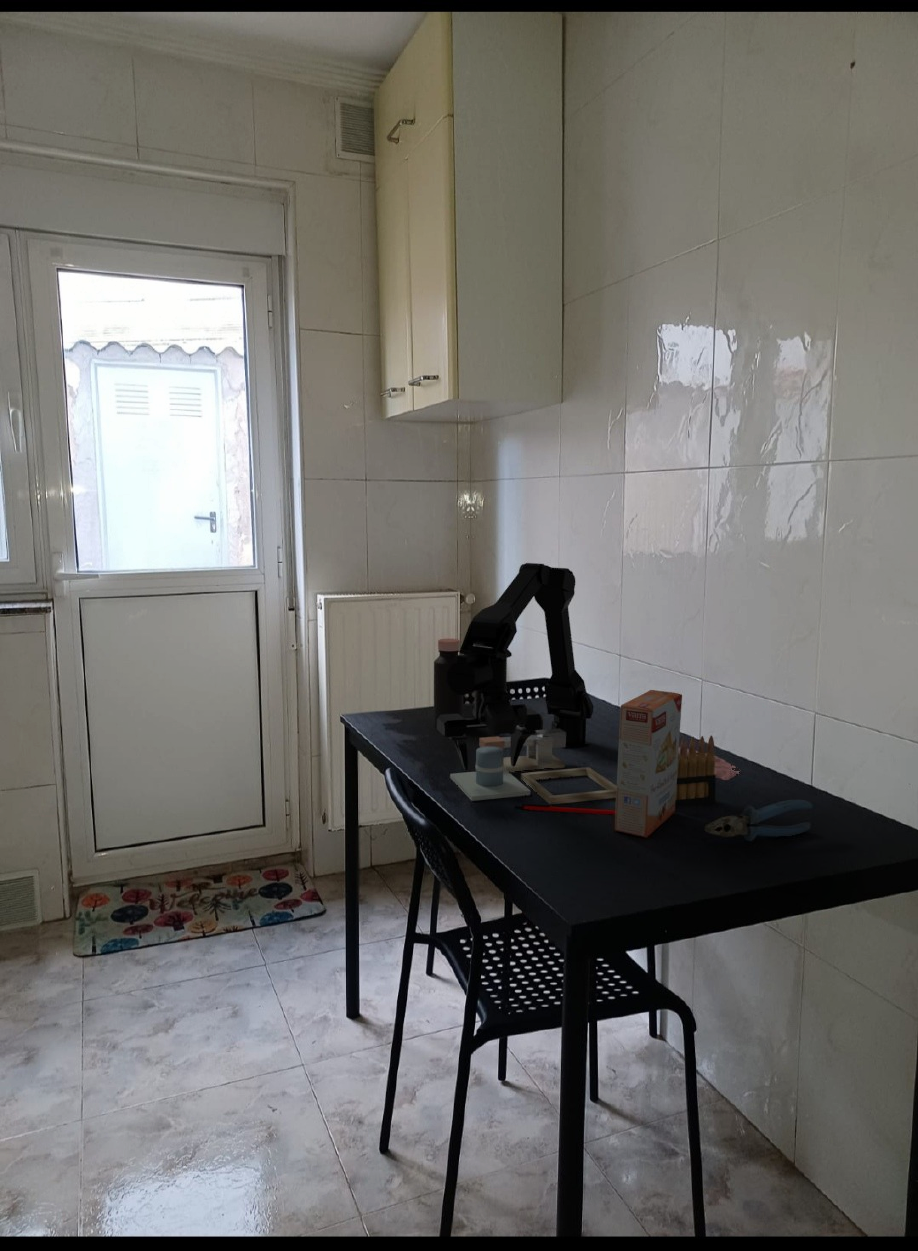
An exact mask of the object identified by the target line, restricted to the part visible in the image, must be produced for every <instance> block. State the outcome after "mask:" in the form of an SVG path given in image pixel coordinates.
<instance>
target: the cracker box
mask: <svg viewBox="0 0 918 1251" xmlns="http://www.w3.org/2000/svg"><path fill="white" fill-rule="evenodd" d="M682 704H683V694H682V693H679V692H672V691H664V690H657V689H656V690H655V689H650V690H648V691H646V692H644V693H641V695H638V696H636V697H634V698H633V699H630V700H628V701H626V702H624V703H623V704H621V705H620V710H619V711H620V712H619V732H618V750H617V751H618V752H617V773H616V786H617V790H616V798H615V815H614V831H616V832H619V833H623V834H628V835H633V836H636V837H640V836H641V838H646V839H647V838H648V837H649V836H651V834H652V833H654V832H655V830H657V829H658V828H659V827H660V826H661V825H662V824H663V823H665V822H666V821H667V820H668V819H669V818H670V817H671V816H672V815H673V814H674V813H676V807H675V801H676V785H677V769H678V760H679V759H678V753H679V747H680V736H681V734H680V733H681V721H682V720H681V718H682Z"/></svg>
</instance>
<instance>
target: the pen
mask: <svg viewBox="0 0 918 1251" xmlns="http://www.w3.org/2000/svg"><path fill="white" fill-rule="evenodd" d="M518 808H522V810H524V809H529V811H541V810H543V812H544V811H545V812H561V813H562V812H563V813H575V814H576V813H578V814H594V815H595V814H597V815H609V814H612V815H613V816H615V810H614V809H612V810H611V809H593V808H579V807H576V808H575V807H561V806H550V804H534V803H533V804H532V803H522V806H519V805H515V806H514V809H518ZM612 815H611V816H612Z"/></svg>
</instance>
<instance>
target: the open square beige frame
mask: <svg viewBox="0 0 918 1251" xmlns="http://www.w3.org/2000/svg"><path fill="white" fill-rule="evenodd" d="M571 776H572V777H580V776H587V777H588V778H590V779H591V780H592V781H594V782H595V783H596V784H598V785H599V786H600V787H602V788H604V790H595V791H594V790H593V791H585V792H575V793H564V794H556V795H554V794H553V793H552V792H550V791H549V790H547V789H546V788H545V787H543V786H542V784H540V783H539V782H537V780H538V781H539V779H540V780H549V778H551V779H560V778H559V777H561V778H569V777H571ZM520 780H521V781H522V780H523V781H524V782H525V783H526V784H525V785H527V786H528V785H529V786H530V787H531V788H532V789H533V790H532V789H531V788H530V787H529V786H528V787H529V788H530V789H531V790H532V791H533V792H535V793H536V792H537V793H536V794H537V795H538V796H539V797H541V798H542V799H543V800H544V801H545V802H546V803H548V805H558V804H571V803H577V802H587V801H597V800H607V799H608V800H609V799H616V790H617V784H614V782H611V781H610V780H609V779H607V778H606V777H604V776H603V775H602V774H599V773H598V772H597V771H595V770H594V769H593V768H591V767H589V766H588V767H587V766H585V767H577V768H576V767H575V768H574V767H573V768H565V769H563V768H562V769H554V770H552V769H551V770H540V771H533V772H532V771H530V772H523V773H521V772H520ZM523 781H522V782H523ZM524 782H523V783H524Z"/></svg>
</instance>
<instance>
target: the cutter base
mask: <svg viewBox="0 0 918 1251" xmlns="http://www.w3.org/2000/svg"><path fill="white" fill-rule="evenodd" d="M535 731H536V733H535V734H534V735H537V730H535ZM552 746H553V738H552V737H542V738H536V745H531V746H526V755H519V757H518V760H517V762H516V765H515V766H512V765H511V758H510V756H507V757H504V760H503V763H504V769H506V770H507V771H508V772H510V773H516V772H515V771H521V772H523V771H522V770H532V771H535V770H534V769H543V770H545V769H544V768H553V769H563V768H565V766H566V764H565V762H563V761H562V760H560V758H558V757H557V756H555V755H554V754H553V748H552Z"/></svg>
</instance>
